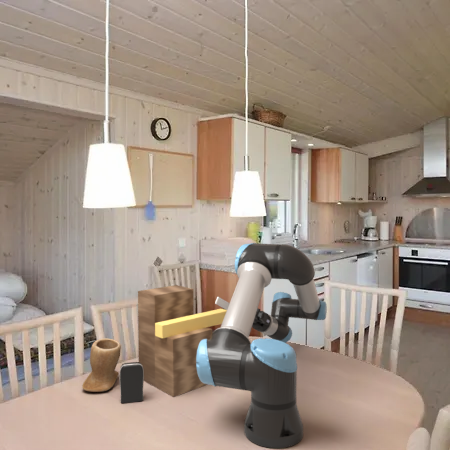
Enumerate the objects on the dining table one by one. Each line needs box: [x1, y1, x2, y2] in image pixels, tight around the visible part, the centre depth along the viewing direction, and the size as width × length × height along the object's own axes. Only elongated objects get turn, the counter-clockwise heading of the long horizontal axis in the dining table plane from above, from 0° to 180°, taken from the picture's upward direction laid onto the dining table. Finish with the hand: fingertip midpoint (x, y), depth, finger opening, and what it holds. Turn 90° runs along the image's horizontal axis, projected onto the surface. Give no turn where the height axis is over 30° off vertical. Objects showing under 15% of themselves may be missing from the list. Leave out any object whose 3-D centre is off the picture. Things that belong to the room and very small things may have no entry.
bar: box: [155, 308, 227, 339], centre depth 145 cm, size 28×4×4 cm, turn 133°
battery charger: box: [119, 361, 145, 404], centre depth 132 cm, size 7×4×11 cm, turn 103°
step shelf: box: [137, 284, 213, 398], centre depth 146 cm, size 16×20×30 cm
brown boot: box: [81, 337, 122, 393], centre depth 143 cm, size 15×12×15 cm
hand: (229, 303), depth 156 cm, fingers open, 13 cm apart
